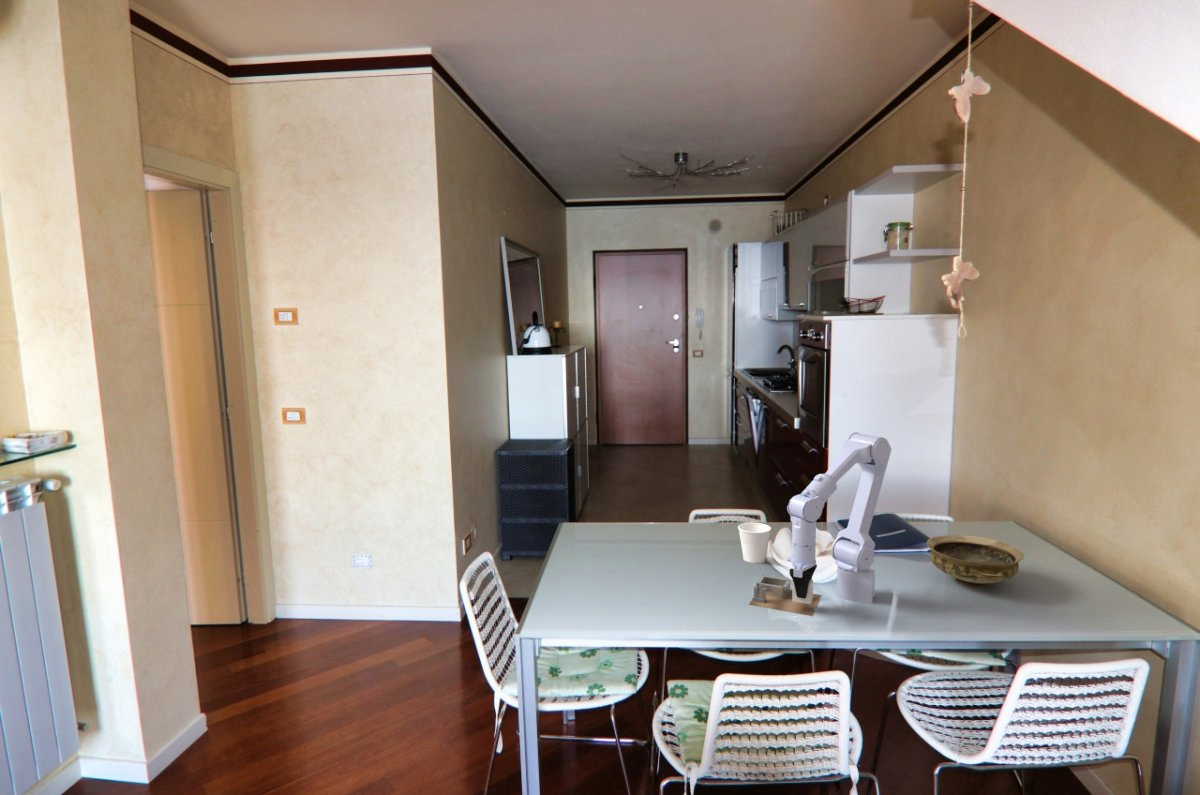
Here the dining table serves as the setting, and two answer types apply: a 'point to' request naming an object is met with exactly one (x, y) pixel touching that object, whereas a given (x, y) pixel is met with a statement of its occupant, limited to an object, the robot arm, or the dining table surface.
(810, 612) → the board
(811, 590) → the connector
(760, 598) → the clip
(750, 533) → the cup
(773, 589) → the end holder
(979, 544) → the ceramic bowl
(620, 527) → the dining table surface
